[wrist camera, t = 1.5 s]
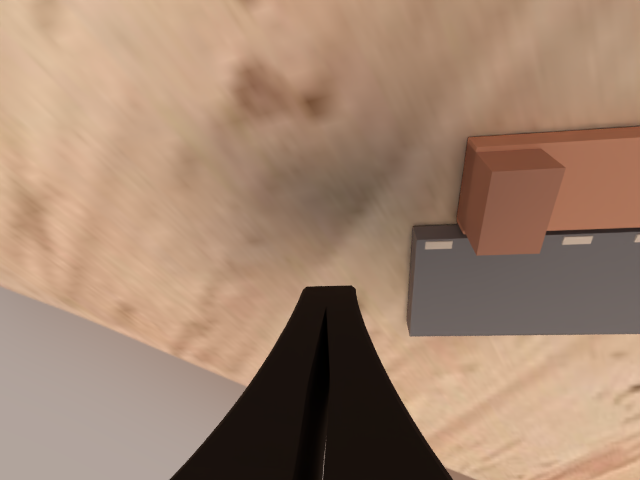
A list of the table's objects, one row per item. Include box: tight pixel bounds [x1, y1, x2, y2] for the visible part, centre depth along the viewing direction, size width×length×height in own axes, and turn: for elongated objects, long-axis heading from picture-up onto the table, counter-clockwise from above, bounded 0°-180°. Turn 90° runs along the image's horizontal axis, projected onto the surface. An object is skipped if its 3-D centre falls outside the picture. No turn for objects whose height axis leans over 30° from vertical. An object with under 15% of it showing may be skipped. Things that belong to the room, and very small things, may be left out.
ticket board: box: [407, 225, 640, 336], centre depth 18 cm, size 14×6×1 cm, turn 95°
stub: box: [456, 126, 640, 256], centre depth 14 cm, size 10×4×3 cm, turn 95°
